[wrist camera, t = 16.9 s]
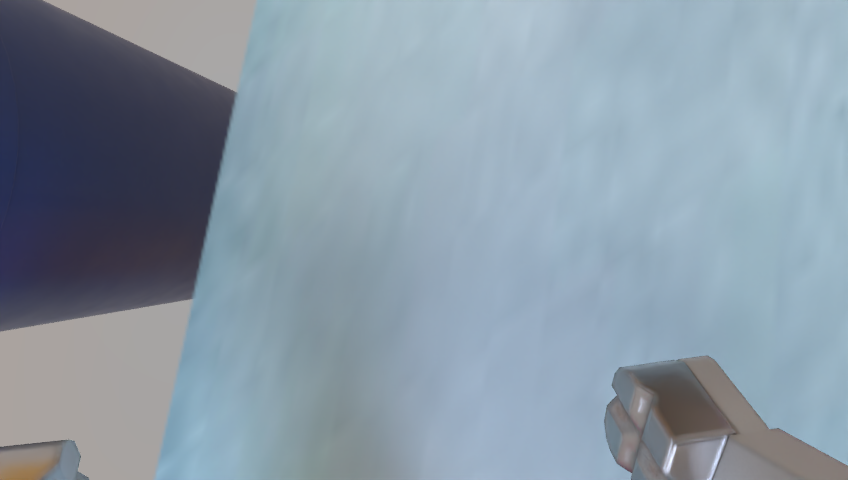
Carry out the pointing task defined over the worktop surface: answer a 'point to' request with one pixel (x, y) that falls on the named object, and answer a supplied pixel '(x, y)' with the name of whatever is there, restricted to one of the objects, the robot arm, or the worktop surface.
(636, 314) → the worktop surface
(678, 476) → the robot arm
